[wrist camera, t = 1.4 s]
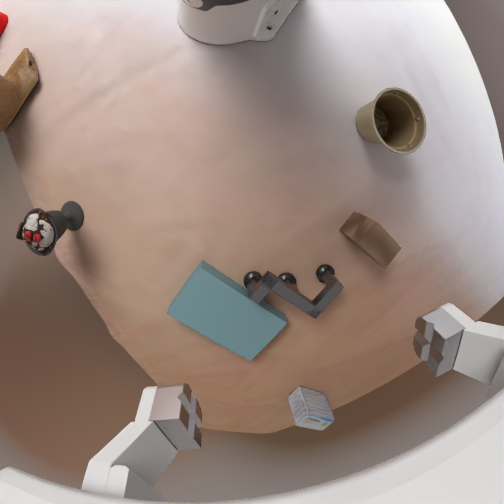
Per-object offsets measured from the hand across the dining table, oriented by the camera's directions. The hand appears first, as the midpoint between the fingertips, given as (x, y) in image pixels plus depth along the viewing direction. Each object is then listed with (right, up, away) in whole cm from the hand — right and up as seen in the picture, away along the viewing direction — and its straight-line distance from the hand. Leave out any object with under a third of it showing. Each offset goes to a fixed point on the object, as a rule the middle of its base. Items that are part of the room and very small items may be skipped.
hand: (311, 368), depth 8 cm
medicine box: (+10, -28, +48) cm, 57 cm away
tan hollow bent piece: (-44, +32, +21) cm, 59 cm away
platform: (-6, -6, +38) cm, 39 cm away
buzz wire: (+4, 0, +37) cm, 37 cm away
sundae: (-32, +10, +31) cm, 45 cm away
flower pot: (+17, +24, +30) cm, 42 cm away
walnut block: (+16, +7, +36) cm, 40 cm away
